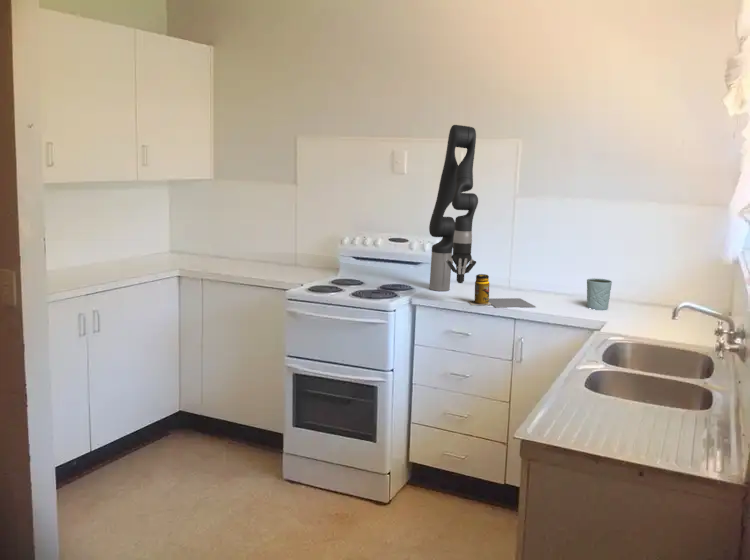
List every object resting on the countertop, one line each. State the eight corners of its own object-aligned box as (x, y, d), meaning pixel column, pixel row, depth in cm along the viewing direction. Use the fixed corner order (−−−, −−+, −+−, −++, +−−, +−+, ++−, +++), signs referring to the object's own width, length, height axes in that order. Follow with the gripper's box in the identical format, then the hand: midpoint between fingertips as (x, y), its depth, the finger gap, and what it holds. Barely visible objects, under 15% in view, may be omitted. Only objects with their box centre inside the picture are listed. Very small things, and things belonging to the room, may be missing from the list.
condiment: (491, 304, 317) (492, 276, 314) (471, 305, 316) (472, 277, 313) (486, 300, 324) (487, 273, 321) (467, 301, 323) (468, 273, 320)
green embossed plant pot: (610, 311, 316) (613, 283, 313) (585, 309, 318) (587, 281, 315) (607, 306, 325) (610, 279, 323) (583, 304, 327) (586, 277, 325)
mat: (481, 299, 328) (481, 298, 328) (520, 299, 332) (520, 298, 332) (495, 307, 313) (495, 306, 313) (535, 307, 317) (535, 306, 317)
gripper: (474, 240, 318) (471, 281, 321) (444, 240, 315) (442, 281, 318) (480, 242, 311) (478, 284, 314) (450, 242, 308) (447, 284, 311)
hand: (460, 282), depth 316 cm, fingers closed
